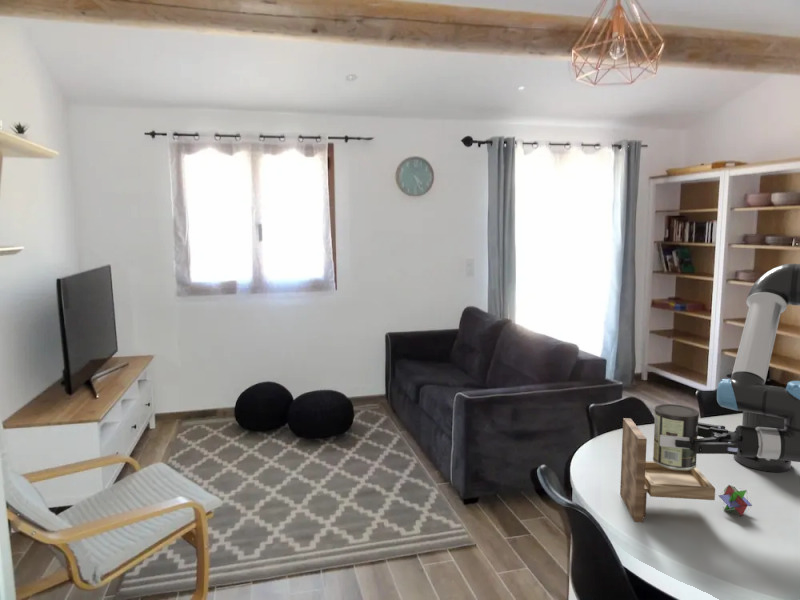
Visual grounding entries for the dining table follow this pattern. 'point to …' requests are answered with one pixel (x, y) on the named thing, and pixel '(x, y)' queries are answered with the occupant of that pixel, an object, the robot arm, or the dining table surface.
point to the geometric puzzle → (735, 500)
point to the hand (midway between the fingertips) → (657, 432)
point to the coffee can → (675, 424)
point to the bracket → (654, 476)
